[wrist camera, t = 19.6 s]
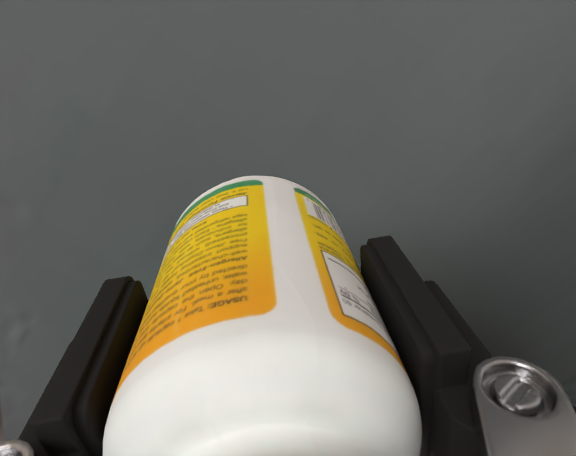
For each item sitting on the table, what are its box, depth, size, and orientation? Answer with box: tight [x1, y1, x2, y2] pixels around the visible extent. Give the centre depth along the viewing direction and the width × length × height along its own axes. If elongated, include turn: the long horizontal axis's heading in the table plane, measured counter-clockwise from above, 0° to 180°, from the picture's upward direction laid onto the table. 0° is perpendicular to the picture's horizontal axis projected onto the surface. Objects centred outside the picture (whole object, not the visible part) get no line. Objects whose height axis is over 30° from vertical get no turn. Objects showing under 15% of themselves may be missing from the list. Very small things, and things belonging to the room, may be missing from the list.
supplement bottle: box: [103, 176, 422, 456], centre depth 8 cm, size 5×5×10 cm
